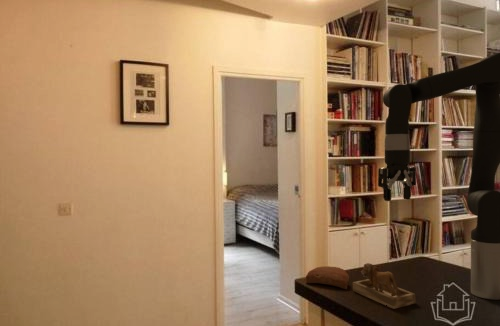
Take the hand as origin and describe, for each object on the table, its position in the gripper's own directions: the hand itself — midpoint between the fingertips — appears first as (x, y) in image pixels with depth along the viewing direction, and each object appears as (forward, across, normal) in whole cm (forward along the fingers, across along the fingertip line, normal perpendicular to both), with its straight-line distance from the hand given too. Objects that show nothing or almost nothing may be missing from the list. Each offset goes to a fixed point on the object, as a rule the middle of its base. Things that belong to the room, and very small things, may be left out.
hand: (397, 200), depth 123 cm
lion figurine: (+29, -7, 0) cm, 29 cm away
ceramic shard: (+30, -10, +21) cm, 38 cm away
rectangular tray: (+30, -6, +1) cm, 31 cm away
